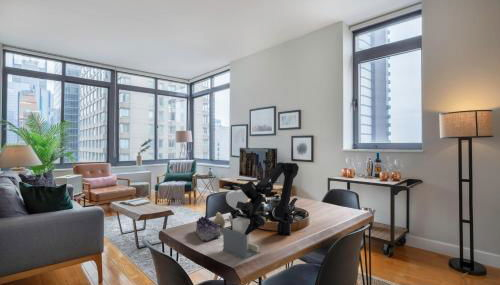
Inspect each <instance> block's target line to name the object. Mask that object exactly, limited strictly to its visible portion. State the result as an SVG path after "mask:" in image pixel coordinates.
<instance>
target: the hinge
mask: <svg viewBox="0 0 500 285" xmlns="http://www.w3.org/2000/svg"><path fill="white" fill-rule="evenodd" d="M228 218H229V219H228V220H229V223H230V225H231V224H232V216H231V214H229V215H228Z"/></svg>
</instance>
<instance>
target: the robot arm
mask: <svg viewBox="0 0 500 285" xmlns="http://www.w3.org/2000/svg"><path fill="white" fill-rule="evenodd" d="M298 172H299V165H298V163H297V162H284V161H280V162H279V161H278V162H276V165H275V166H274V168H273V169H272V170H271V171H270V173H269V174H268V175H267V176H266V177H265V178H264V179H261V180H260V181H259V182H257V184H255V182H254V181H252V180H249V181H247V182H246V183H245V184H244V185H242V186H241V189H240V190H242V192H243V193H244V194H245V195H246V196H247V197H248V200H249V201H247V202H246V203H243V202H239V201H238V202H237V205H236V208H239V209H240V210H238V209H235V208H231V210H230V211H229V214H230V215H231V216H232V219H235V218H239V217H242V218H245V219H249V226H248V227H247V229H246V231H245V235H248V234H251V233H252V232H254V231H256V230H257V229H260V228H261V227H264V226H265V224H266V220H265V219H264V218H263V217H262V215H260V214H257V213H260V211H261V210H260V208H261V205H262V204H263V203H265V204H266V203H267V199H266V196H269V195H270V194H271V192H272V191H273V189H274V184H275V183H276V182H277V180H279V178H280V176H281V175H282V174H283V177H284V178H283V184H282V189H281V195H280V199H279V203H278V204H275V206H274V211H273V213H274V214H273V216H274V219H275V221H276V222H278V223H277V227H276V228H277V235H282V236H290V235H291V233H292V231H291V225H293V223H294V219H295V218H294V217H293V216H292V215H291V211H292V210H291V208H290V199H291V195H292V194H291V193H292V190H293V189H292V188H293V184H294V179H295V178H296V177H297V176H298ZM263 195H264V196H263ZM230 229H231V230H233V227H232V224H231V223H230Z"/></svg>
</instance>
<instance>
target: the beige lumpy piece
mask: <svg viewBox="0 0 500 285" xmlns="http://www.w3.org/2000/svg"><path fill="white" fill-rule="evenodd" d="M211 221H212V222H214V224H218V225H219V226H220V227H224V226H226V222H225V219H224V216H223V215H222V213H221V212H219V211H218V212H216V213H215V218H214V219H213V220H212V219H211Z"/></svg>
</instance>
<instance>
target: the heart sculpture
mask: <svg viewBox="0 0 500 285" xmlns="http://www.w3.org/2000/svg"><path fill="white" fill-rule="evenodd" d="M248 200H249V198H248V197H247V196H246V195H245V194H244V193H243V192H242V190H241V189H238V190H236V191H235V190H230V191H227V193H226V195H225V201H226V203H227V205H228V206H230V207H231V208H232V209H238V210H239V211H240V210H241V209H239V208H236V205H237V202H238V201H239V202H243V203H246V202H248ZM227 219H228V220H229V217H228V218H227Z"/></svg>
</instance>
